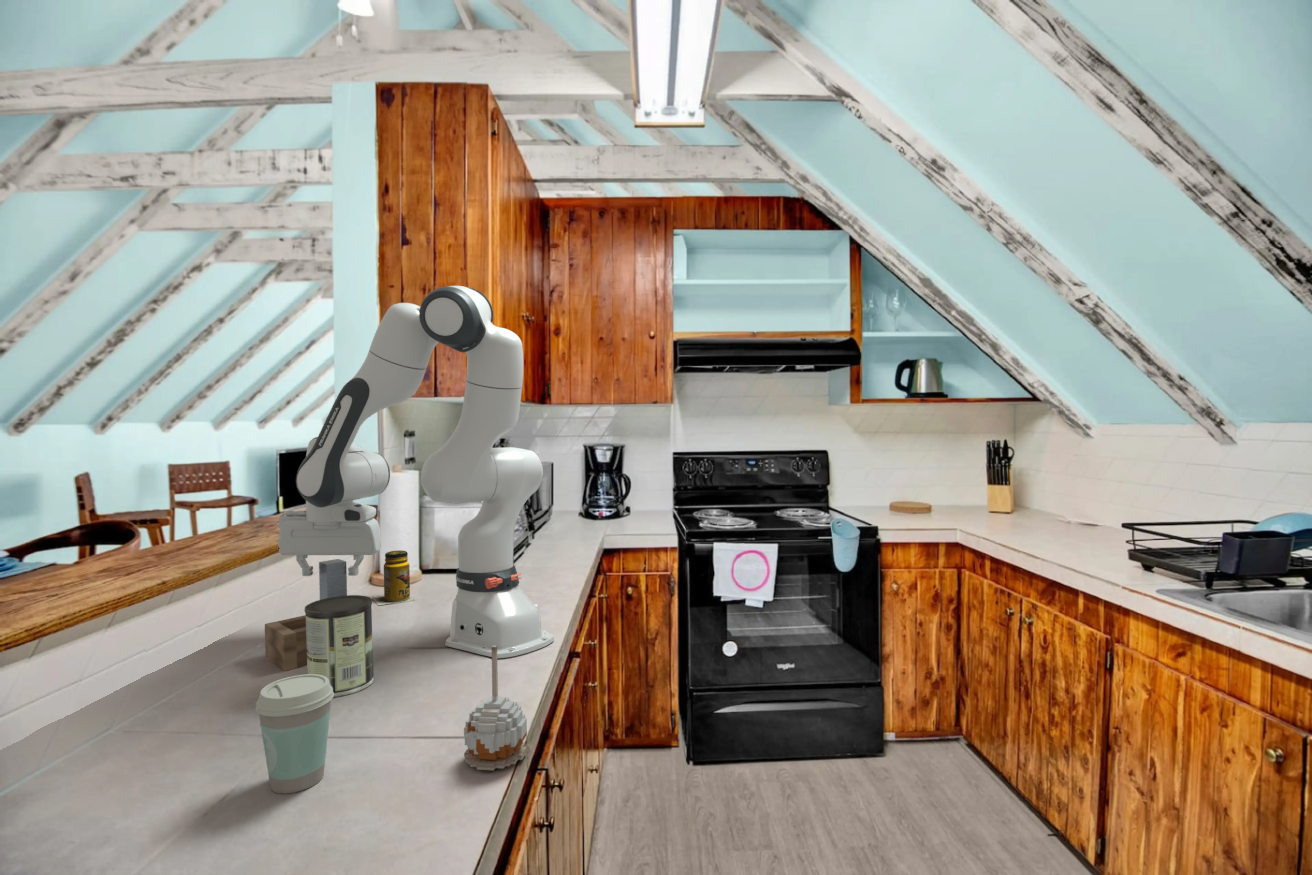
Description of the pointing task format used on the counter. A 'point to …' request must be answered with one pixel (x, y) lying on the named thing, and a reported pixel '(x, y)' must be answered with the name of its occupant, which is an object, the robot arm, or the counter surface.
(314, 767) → the coffee cup
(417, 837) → the counter surface
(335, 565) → the steel bar
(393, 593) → the condiment
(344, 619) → the coffee can
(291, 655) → the walnut holder
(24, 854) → the counter surface
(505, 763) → the voxel caramel apple
